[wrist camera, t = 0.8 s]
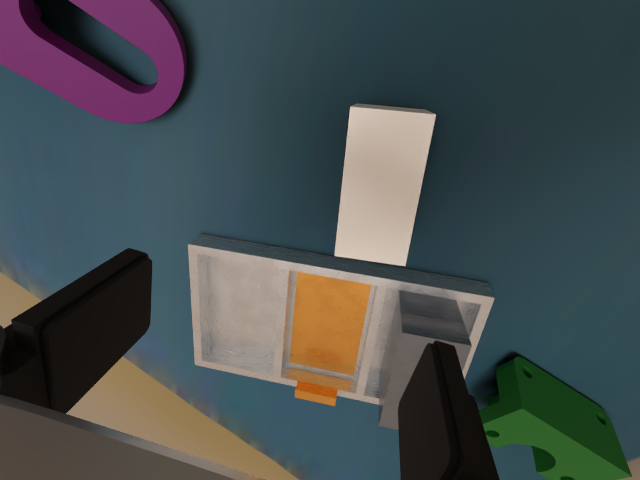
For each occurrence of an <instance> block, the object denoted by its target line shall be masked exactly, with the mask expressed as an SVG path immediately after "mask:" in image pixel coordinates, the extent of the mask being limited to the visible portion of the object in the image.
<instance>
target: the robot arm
mask: <svg viewBox="0 0 640 480" xmlns="http://www.w3.org/2000/svg"><path fill="white" fill-rule="evenodd" d="M151 284H152V260H151V259H149V257H148V254H146V253H144V252H141V251H137V250H134V249H130V248H128V249H126V250H124V251H123V252H121V253H119V254H118V255H116V256H114V257H113V258H111V259H110V260H108V261H106V262H105V263H103V264H101V265H100V266H98V267H96V268H95V269H93V270H92V271H90V272H88V273H87V274H85V275H83V276H82V277H80V278H79V279H77V280H75V281H74V282H72V283H70V284H69V285H67V286H66V287H64V288H62V289H61V290H59V291H57V292H56V293H54V294H53V295H51V296H49V297H48V298H46V299H44V300H43V301H41V302H39V303H38V304H36V305H35V306H33V307H31V308H30V309H28V310H26V311H25V312H23V313H22V314H20V315H18V316H17V317H15V318H13V319H12V320H11V321H12V324H11V325H9V326H7V327H6V328H4V329H3V328H2V326H0V480H265V479H262V478H259V477H256V476H253V475H249V474H247V473H244V472H241V471H238V470H235V469H232V468H229V467H226V466H223V465H219V464H216V463H214V462H211V461H208V460H204V459H202V458H199V457H196V456H193V455H189V454H186V453H183V452H180V451H177V450H174V449H171V448H168V447H165V446H162V445H159V444H156V443H153V442H150V441H147V440H144V439H141V438H138V437H135V436H132V435H129V434H126V433H123V432H120V431H116V430H113V429H110V428H107V427H104V426H101V425H98V424H94V423H92V422H89V421H86V420H83V419H80V418H76V417H73V416H70V415H67V414H66V413H67V412H68V411H69V410H70V409H71V408H72V407H73V406H74V405H75V404H76V403H77V402H78V401H79V400H80V399H81V398H82V397H83V396H84V395H85V394H86V393H87V392H88V391H89V390H90V389H91V388H92V387H93V386H94V384H96V383H97V381H99V380H100V378H102V377H103V376H104V375H105V373H107V371H108V370H109V369H110V368H111V367H112V366H113V365H114V364H115V363H116V362H117V361H118V360H119V359H120V358H121V357H122V356H123V355H124V354H125V353H126V352H127V351H128V350H129V349H130V348H131V347H132V346H133V345H134V344H135V343H136V342H137V341H138V340H139V339H140V338H141V337H142V336H143V335H144V334H145V333H146V331H147V330H148V328H149V325H150V315H151ZM398 428H399V449H400V470H401V480H499V476H498V473H497V470H496V466H495V463H494V460H493V457H492V453H491V450H490V447H489V443H488V440H487V437H486V433H485V430H484V427H483V423H482V420H481V417H480V413H479V410H478V407H477V403H476V401H475V399H474V397H473V396H471V395H469V394H468V390H467V387H466V383H465V380H464V376H463V373H462V369H461V366H460V362H459V359H458V355H457V352H456V348H455V346H453V345H451V344H447V343H444V342H441V341H437V340H436V341H434V342H433V344H431V343H428V344H427V345H426V347H425V349H424V351H423V353H422V355H421V357H420V359H419V361H418V364H417V366H416V368H415V370H414V372H413V374H412V376H411V378H410V380H409V382H408V385H407V387H406V389H405V391H404V393H403V395H402V397H401V399H400V402H399V406H398Z"/></svg>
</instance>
